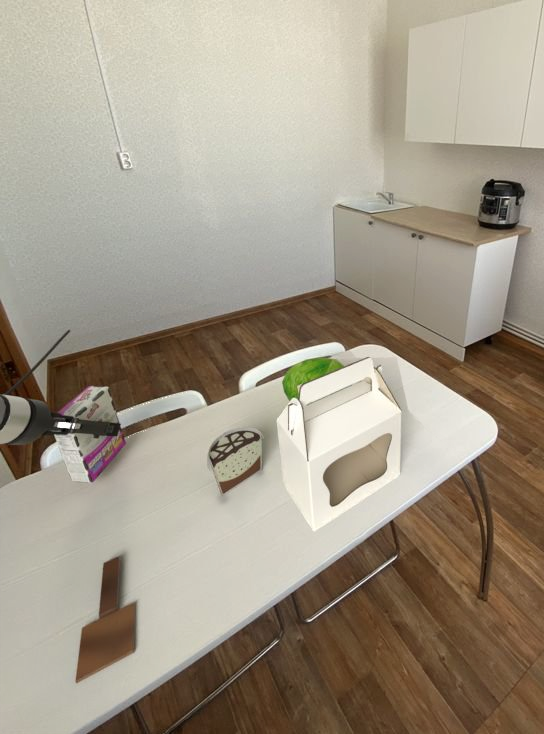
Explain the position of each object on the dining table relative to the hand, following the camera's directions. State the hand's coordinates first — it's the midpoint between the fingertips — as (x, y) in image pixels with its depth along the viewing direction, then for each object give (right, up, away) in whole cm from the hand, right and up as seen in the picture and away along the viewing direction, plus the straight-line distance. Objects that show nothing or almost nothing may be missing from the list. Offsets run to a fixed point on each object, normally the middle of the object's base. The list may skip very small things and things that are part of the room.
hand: (105, 428), depth 86 cm
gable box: (+54, -10, -3) cm, 55 cm away
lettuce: (+46, -2, +20) cm, 50 cm away
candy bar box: (0, -7, -1) cm, 7 cm away
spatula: (+17, -18, -25) cm, 35 cm away
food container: (+30, -10, -1) cm, 32 cm away
